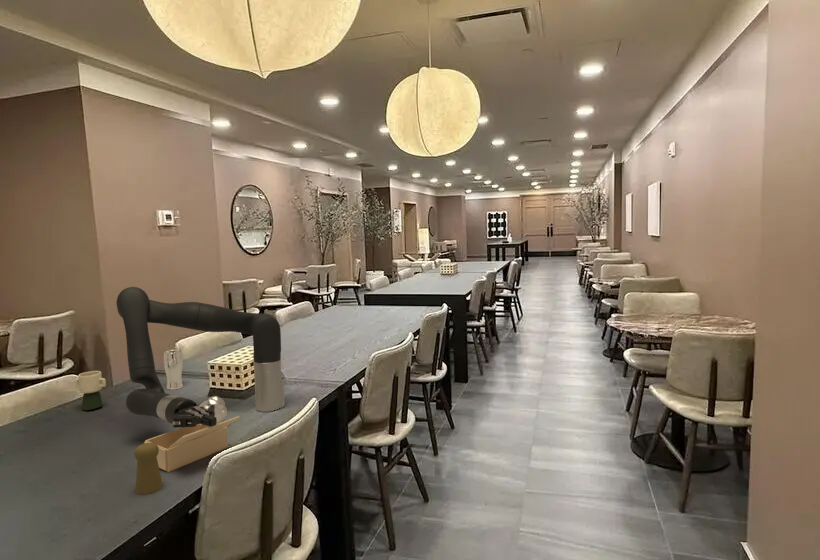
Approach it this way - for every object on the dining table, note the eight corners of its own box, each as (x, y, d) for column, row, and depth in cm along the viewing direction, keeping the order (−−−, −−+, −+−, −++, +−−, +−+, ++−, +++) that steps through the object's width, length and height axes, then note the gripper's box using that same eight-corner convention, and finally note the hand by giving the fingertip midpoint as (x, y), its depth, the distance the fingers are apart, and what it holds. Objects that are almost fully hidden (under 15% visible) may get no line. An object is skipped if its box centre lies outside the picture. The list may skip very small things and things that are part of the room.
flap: (225, 426, 145) (239, 415, 141) (225, 427, 145) (239, 416, 141) (168, 447, 131) (182, 436, 127) (169, 448, 131) (182, 437, 127)
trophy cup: (113, 405, 185) (111, 370, 184) (101, 412, 178) (98, 376, 176) (84, 405, 185) (81, 370, 184) (70, 412, 178) (68, 376, 177)
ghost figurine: (214, 433, 156) (212, 402, 155) (190, 430, 160) (188, 399, 159) (233, 423, 165) (232, 393, 164) (210, 420, 168) (209, 390, 167)
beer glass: (188, 385, 208) (185, 349, 206) (175, 390, 201) (172, 353, 200) (174, 384, 210) (172, 348, 208) (161, 389, 203) (159, 352, 202)
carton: (205, 438, 153) (204, 419, 152) (229, 447, 146) (228, 427, 146) (143, 462, 137) (142, 440, 137) (167, 472, 131) (165, 450, 130)
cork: (141, 483, 126) (138, 440, 125) (166, 481, 126) (164, 439, 125) (130, 495, 120) (127, 450, 119) (156, 493, 120) (154, 449, 119)
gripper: (153, 404, 137) (190, 416, 127) (197, 391, 148) (234, 401, 138) (154, 430, 138) (191, 444, 128) (198, 415, 149) (235, 427, 139)
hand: (213, 422), depth 133 cm, fingers closed
